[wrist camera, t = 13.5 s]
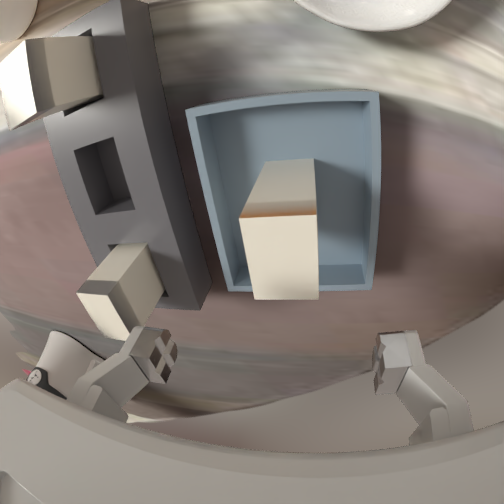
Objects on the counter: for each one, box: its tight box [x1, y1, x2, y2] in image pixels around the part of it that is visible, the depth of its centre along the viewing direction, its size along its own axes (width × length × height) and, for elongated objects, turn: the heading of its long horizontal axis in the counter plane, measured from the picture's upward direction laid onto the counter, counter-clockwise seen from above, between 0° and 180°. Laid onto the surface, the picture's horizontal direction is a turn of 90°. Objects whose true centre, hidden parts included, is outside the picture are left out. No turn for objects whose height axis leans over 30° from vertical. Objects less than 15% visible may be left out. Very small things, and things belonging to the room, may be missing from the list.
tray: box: [185, 89, 381, 291], centre depth 21 cm, size 15×12×4 cm
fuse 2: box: [76, 242, 165, 341], centre depth 24 cm, size 5×4×9 cm
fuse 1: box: [0, 36, 104, 131], centre depth 14 cm, size 5×4×9 cm
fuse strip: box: [43, 0, 212, 310], centre depth 22 cm, size 27×10×4 cm, turn 9°
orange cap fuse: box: [239, 158, 319, 300], centre depth 18 cm, size 5×4×9 cm
